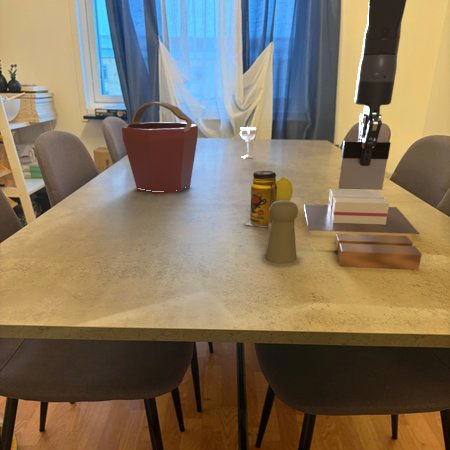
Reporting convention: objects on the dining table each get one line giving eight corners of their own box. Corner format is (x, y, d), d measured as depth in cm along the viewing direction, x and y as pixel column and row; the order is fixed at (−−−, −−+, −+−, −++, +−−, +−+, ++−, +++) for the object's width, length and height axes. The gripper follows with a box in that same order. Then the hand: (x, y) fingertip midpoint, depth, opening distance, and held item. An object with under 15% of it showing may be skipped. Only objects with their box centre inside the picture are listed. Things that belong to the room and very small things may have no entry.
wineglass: (243, 158, 187) (244, 129, 181) (237, 156, 192) (237, 127, 187) (257, 157, 189) (258, 128, 184) (251, 155, 195) (252, 127, 189)
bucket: (210, 191, 133) (209, 102, 122) (143, 201, 123) (135, 105, 112) (176, 177, 152) (172, 99, 141) (115, 184, 142) (105, 101, 130)
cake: (375, 209, 111) (378, 190, 108) (381, 217, 105) (384, 197, 102) (327, 208, 112) (329, 189, 110) (330, 216, 106) (332, 195, 104)
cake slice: (382, 219, 103) (385, 198, 101) (386, 224, 100) (389, 203, 97) (330, 218, 104) (333, 197, 102) (332, 223, 101) (335, 201, 99)
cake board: (395, 210, 114) (396, 207, 113) (419, 238, 94) (419, 233, 94) (303, 208, 116) (303, 204, 116) (307, 234, 97) (308, 229, 96)
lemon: (295, 207, 117) (297, 177, 113) (280, 210, 114) (281, 179, 111) (282, 202, 121) (284, 173, 117) (266, 205, 118) (268, 176, 115)
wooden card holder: (404, 249, 88) (407, 235, 87) (418, 269, 79) (421, 254, 77) (334, 247, 89) (335, 233, 88) (340, 266, 80) (342, 251, 79)
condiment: (244, 225, 103) (244, 173, 97) (256, 215, 110) (258, 167, 104) (273, 229, 100) (275, 176, 95) (284, 219, 107) (287, 169, 101)
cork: (274, 265, 81) (278, 207, 76) (259, 254, 86) (261, 199, 81) (302, 260, 83) (307, 203, 78) (286, 250, 88) (289, 196, 83)
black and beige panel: (381, 188, 102) (388, 141, 97) (382, 190, 100) (390, 142, 95) (337, 187, 103) (343, 140, 98) (338, 189, 101) (344, 141, 96)
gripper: (402, 79, 84) (387, 170, 92) (387, 79, 97) (374, 159, 104) (362, 79, 85) (351, 170, 93) (352, 79, 97) (343, 159, 105)
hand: (363, 164), depth 99 cm, fingers closed on black and beige panel, 2 cm apart
